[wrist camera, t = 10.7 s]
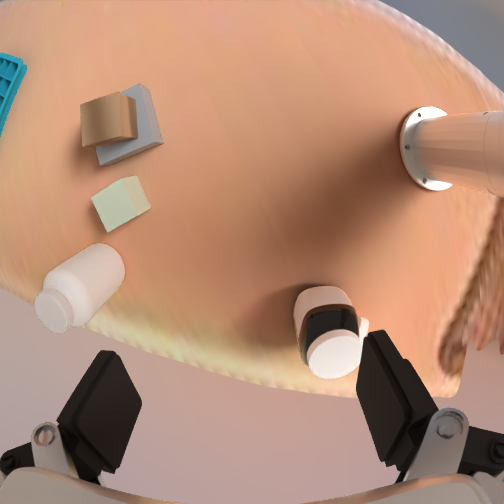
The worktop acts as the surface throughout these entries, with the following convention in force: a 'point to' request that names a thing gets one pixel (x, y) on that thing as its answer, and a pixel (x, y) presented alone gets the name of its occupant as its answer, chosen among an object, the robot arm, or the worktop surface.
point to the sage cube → (120, 202)
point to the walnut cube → (108, 120)
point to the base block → (146, 130)
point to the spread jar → (328, 331)
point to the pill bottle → (79, 287)
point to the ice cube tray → (9, 83)
